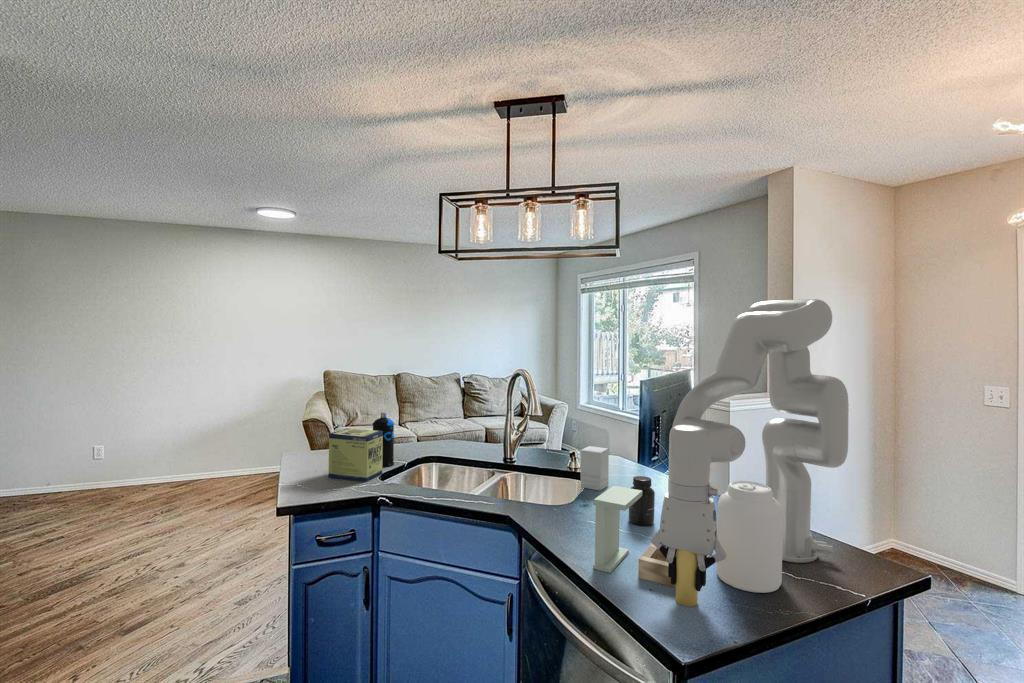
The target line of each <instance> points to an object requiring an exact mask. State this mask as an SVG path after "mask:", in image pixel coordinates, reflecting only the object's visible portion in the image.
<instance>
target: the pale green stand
mask: <svg viewBox="0 0 1024 683" xmlns="http://www.w3.org/2000/svg"><path fill="white" fill-rule="evenodd" d="M641 496H642V490H636V489H631V487H624V486H619V485H612V486H611V487H610V488H607V489H606V490H605V491H604V492H602V493H601V494H599V495H598V496H596V497H595V498H594V499H593V505H594V506H595V523H594V524H595V529H594V533H595V534H594V539H595V540H594V563H593V564H592V569H595V570H598V571H602V572H606V573H609V574H611V573H612V572H613V571H614V570H615V569H616V568H617V567H618V565H619V564H621V562H622V561H624V559H625V557H626V556H628V554H629V553H630V552H629V551H630V549H629V548H624V547H621V546H620V518H621V517H620V515H621V514H620V512H621V511H623V512H626V511H628V510H629V507H630V506H631V505H632V504H634V503H635V502H636V501H637V500H638V499H639V498H640V497H641Z"/></svg>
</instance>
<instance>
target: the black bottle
mask: <svg viewBox="0 0 1024 683" xmlns="http://www.w3.org/2000/svg"><path fill="white" fill-rule="evenodd" d="M372 430H375V431H383V452H382V468H389V467H392V466H394V465H395V462H394V453H395V452H394V450H395V449H394V447H395V446H394V444H395V443H394V441H395V439H394V437H395V434H394V433H395V432H394V430H395V421H393V420H392V419H390V418H388V417H387V412H386V411H381V412H380V417H379V418H377V419H375V420H374V421H373V422H372Z"/></svg>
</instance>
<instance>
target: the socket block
mask: <svg viewBox="0 0 1024 683" xmlns="http://www.w3.org/2000/svg"><path fill="white" fill-rule="evenodd" d="M668 565H669V563H668V562H667V561H666V558H665V557H664V555H663V554H662V553H661V552H660V550H659V549H658V548H657V547H655V546H654V545H653V544H652V543H651V542H650V544H649V546H648V547H647V548H646V549H645V550H644V552H643V553H642V554H641V555H640V557H638V567H637V568H638V572H637V573H638V574H637V576H638V579H641V580H642V579H643V580H646V581H650V582H653V583H656V584H661V585H664V586H668V587H672V588H675V589H676V583H675V584H674V585H672V584H671V578H670V577H668Z"/></svg>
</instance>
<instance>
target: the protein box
mask: <svg viewBox="0 0 1024 683" xmlns="http://www.w3.org/2000/svg"><path fill="white" fill-rule="evenodd" d="M382 452H383V431H375V430H373V429H372V430H371V429H362V428H361V429H357V428H344V429H340V430H337V431H333V432H330V433H328V478H329V479H337V480H346V481H348V480H349V481H355V482H356V481H357V482H364V483H367V482H369V481H371V480H373V479H375V478H377V477H379V476H381V475H383V467H382Z"/></svg>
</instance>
